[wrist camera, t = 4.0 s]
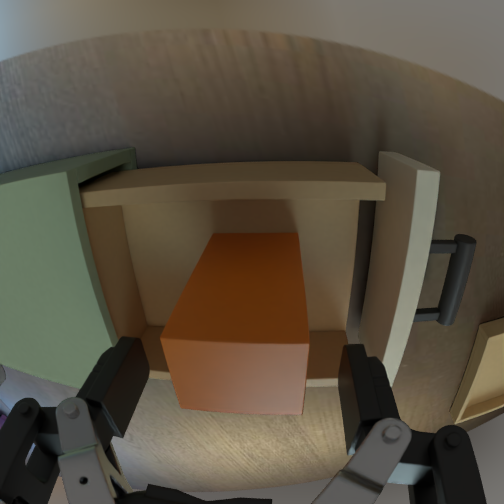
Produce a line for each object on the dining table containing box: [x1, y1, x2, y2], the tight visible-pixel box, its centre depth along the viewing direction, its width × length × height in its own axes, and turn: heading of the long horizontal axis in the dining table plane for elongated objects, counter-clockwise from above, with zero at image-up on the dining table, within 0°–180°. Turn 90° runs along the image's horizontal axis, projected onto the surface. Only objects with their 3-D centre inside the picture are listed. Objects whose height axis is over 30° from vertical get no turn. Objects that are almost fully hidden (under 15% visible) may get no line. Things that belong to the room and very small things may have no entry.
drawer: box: [79, 151, 476, 387], centre depth 18 cm, size 22×13×6 cm, turn 92°
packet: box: [160, 233, 310, 415], centre depth 15 cm, size 5×4×10 cm
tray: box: [450, 318, 504, 424], centre depth 23 cm, size 13×9×2 cm
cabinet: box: [0, 147, 137, 389], centre depth 19 cm, size 19×15×8 cm
